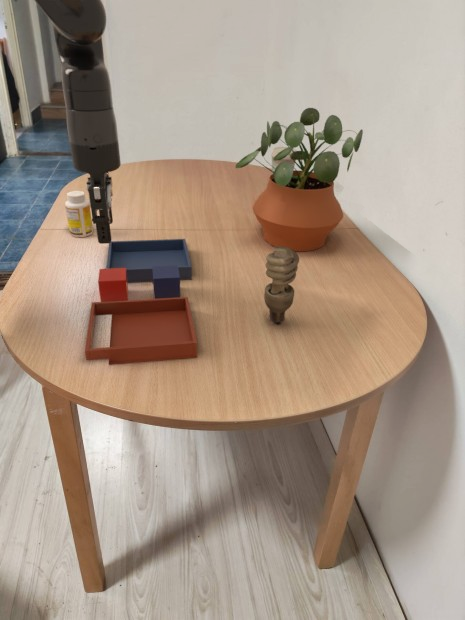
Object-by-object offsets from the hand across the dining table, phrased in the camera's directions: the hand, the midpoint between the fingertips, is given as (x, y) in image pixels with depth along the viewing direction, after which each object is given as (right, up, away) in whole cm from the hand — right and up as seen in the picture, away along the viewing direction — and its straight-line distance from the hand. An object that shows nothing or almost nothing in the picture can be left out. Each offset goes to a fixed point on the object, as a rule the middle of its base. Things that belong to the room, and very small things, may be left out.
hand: (106, 232), depth 81 cm
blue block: (+9, -11, +9) cm, 17 cm away
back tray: (+4, -4, +19) cm, 20 cm away
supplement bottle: (-15, +5, +32) cm, 35 cm away
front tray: (+7, -18, -3) cm, 20 cm away
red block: (0, -11, +7) cm, 14 cm away
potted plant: (+36, +4, +34) cm, 49 cm away
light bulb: (+30, -16, +2) cm, 35 cm away
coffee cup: (+39, +27, +70) cm, 85 cm away
